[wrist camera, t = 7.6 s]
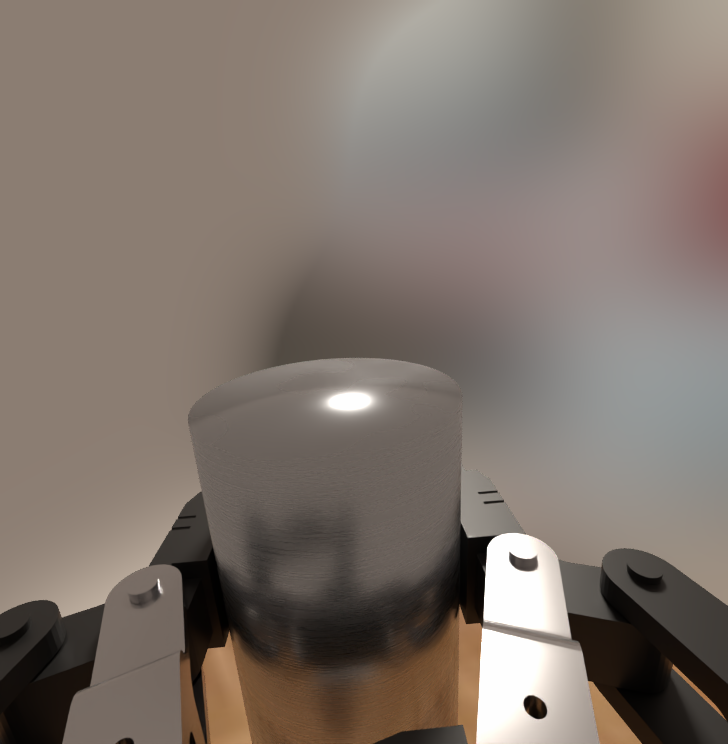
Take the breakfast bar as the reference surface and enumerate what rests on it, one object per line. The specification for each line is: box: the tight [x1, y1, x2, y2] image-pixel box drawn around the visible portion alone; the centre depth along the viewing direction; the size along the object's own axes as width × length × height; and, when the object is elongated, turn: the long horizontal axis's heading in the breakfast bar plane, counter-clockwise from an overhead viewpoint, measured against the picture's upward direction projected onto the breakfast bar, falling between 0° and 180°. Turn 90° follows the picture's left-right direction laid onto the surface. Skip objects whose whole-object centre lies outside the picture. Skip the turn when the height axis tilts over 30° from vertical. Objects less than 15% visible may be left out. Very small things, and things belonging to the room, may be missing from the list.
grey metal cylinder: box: [188, 358, 462, 744], centre depth 10 cm, size 5×5×10 cm
